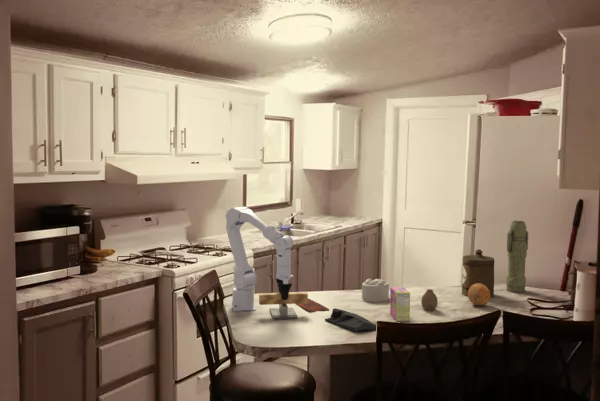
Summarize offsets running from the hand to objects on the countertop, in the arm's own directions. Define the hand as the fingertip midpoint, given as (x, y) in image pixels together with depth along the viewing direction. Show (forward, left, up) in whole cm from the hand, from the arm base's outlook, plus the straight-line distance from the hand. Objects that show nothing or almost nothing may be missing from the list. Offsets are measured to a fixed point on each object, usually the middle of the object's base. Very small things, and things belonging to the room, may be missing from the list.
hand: (283, 297), depth 230 cm
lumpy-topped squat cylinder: (+46, +22, -8) cm, 51 cm away
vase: (+64, 0, -8) cm, 64 cm away
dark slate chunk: (+26, -16, -8) cm, 31 cm away
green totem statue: (+121, +28, -8) cm, 124 cm away
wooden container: (+98, +23, -8) cm, 101 cm away
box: (+47, -10, -8) cm, 49 cm away
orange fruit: (+89, +4, -8) cm, 89 cm away
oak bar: (0, 0, -2) cm, 2 cm away
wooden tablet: (+13, +16, -8) cm, 22 cm away
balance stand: (0, 0, -7) cm, 7 cm away
